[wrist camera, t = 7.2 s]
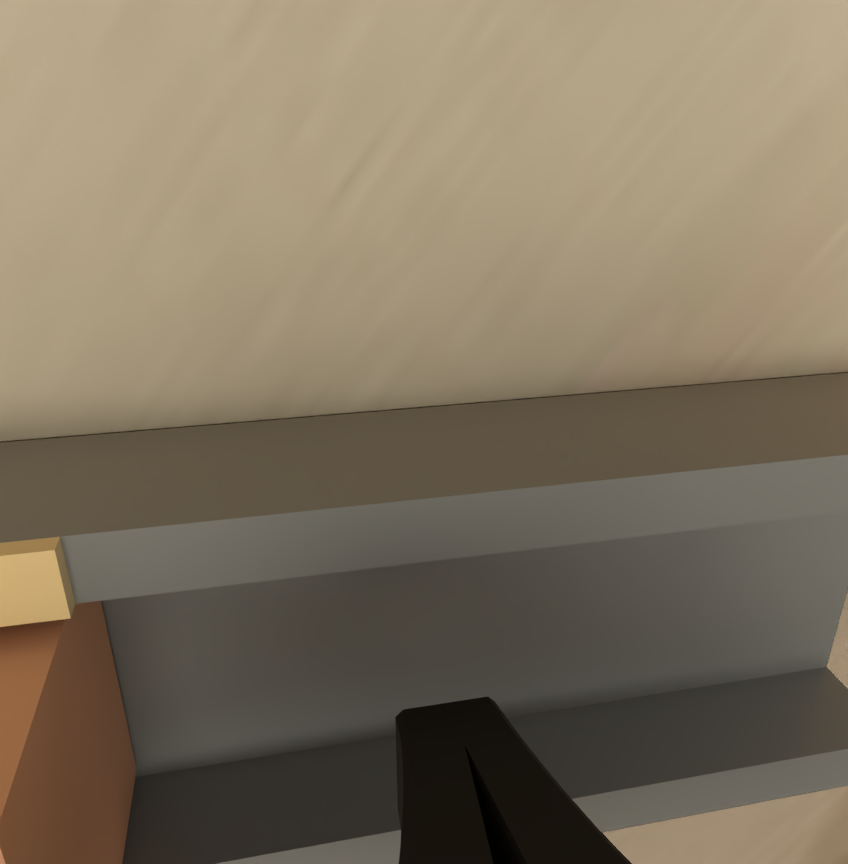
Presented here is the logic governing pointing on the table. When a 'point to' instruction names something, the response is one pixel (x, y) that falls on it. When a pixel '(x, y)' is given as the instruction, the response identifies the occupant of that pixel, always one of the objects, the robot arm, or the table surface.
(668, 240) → the table surface
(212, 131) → the table surface
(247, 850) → the trough
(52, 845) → the block
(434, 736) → the robot arm
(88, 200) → the table surface
